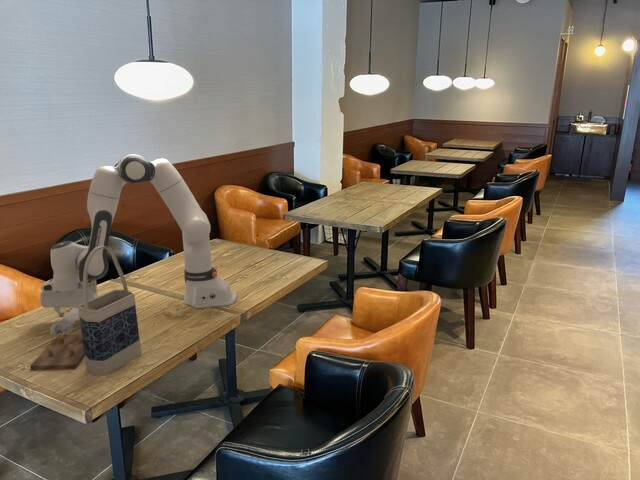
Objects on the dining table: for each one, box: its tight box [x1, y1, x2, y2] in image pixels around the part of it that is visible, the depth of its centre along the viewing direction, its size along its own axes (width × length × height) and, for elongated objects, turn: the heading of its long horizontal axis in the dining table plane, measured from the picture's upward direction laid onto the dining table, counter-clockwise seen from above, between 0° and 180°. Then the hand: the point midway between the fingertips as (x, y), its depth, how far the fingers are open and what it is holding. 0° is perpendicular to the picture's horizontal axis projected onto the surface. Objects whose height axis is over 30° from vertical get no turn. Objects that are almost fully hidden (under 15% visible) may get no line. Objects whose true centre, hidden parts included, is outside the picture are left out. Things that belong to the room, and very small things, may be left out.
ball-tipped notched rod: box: [49, 307, 80, 336], centre depth 196 cm, size 23×6×3 cm, turn 5°
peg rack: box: [29, 331, 85, 371], centre depth 172 cm, size 14×22×5 cm, turn 5°
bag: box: [78, 246, 142, 376], centre depth 162 cm, size 18×9×40 cm, turn 155°
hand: (71, 316), depth 197 cm, fingers open, 6 cm apart
